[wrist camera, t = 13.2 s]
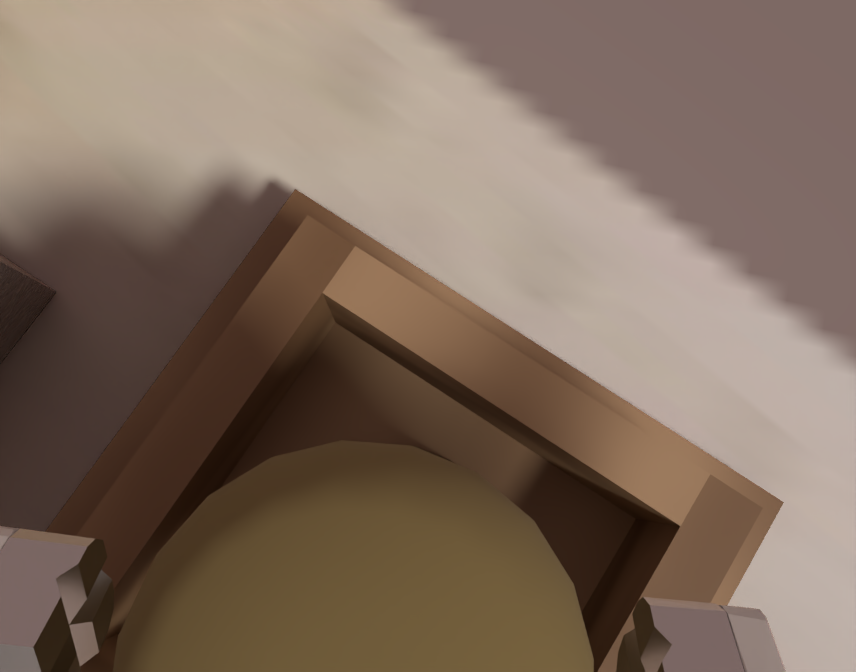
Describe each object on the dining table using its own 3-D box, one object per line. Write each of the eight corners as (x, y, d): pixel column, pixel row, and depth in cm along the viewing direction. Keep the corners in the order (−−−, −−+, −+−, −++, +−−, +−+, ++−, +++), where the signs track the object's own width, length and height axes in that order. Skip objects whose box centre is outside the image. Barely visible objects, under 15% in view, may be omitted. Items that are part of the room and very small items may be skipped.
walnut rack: (-14, 640, 18) (-135, 686, 14) (301, 206, 21) (276, 136, 16) (484, 1000, 17) (508, 1161, 13) (760, 500, 20) (855, 506, 15)
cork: (290, 416, 18) (121, 324, 8) (539, 476, 18) (729, 469, 7) (219, 681, 17) (-99, 1018, 6) (484, 747, 17) (611, 1200, 6)
